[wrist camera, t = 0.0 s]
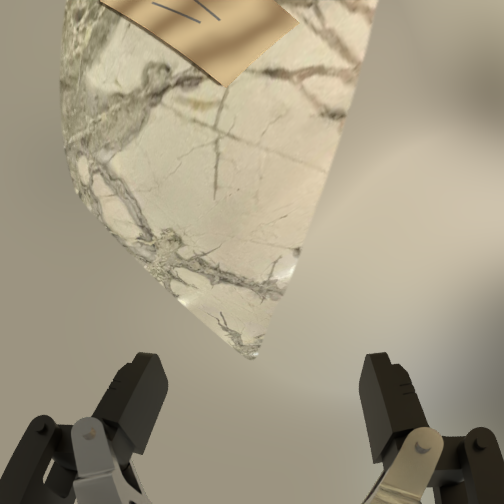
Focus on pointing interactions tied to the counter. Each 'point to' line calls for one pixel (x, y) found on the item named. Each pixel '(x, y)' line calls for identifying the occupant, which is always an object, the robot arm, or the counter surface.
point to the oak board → (212, 29)
